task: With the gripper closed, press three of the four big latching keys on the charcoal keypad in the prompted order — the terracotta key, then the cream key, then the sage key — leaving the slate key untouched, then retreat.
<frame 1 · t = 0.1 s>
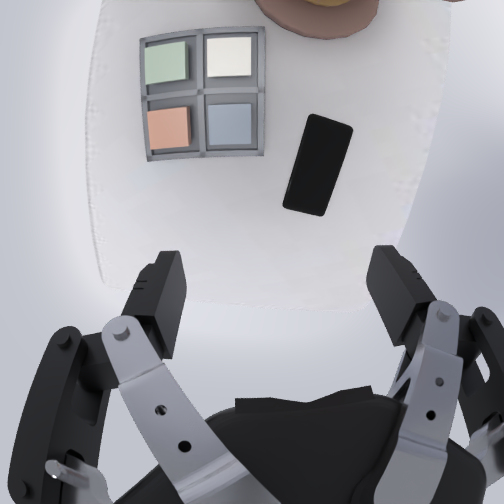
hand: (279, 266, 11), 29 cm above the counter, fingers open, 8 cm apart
keypad: (203, 91, 31), on the counter
slate key: (230, 123, 30), point 4 cm above the counter, slide at 0.0 cm
cream key: (229, 57, 26), point 4 cm above the counter, slide at 0.0 cm
sage key: (166, 63, 25), point 4 cm above the counter, slide at 0.0 cm
smartphone: (316, 166, 38), on the counter
terracotta key: (169, 127, 30), point 4 cm above the counter, slide at 0.0 cm
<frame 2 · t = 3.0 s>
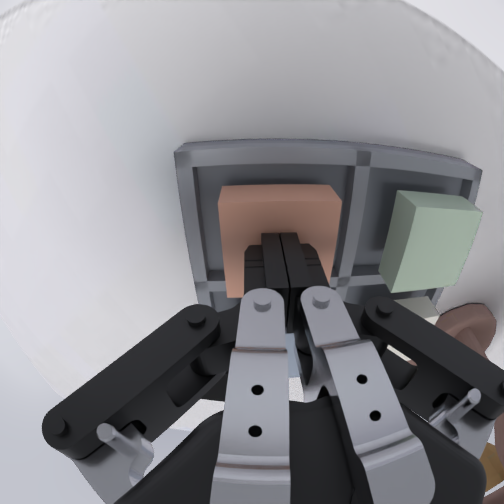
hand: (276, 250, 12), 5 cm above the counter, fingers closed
keypad: (334, 261, 18), on the counter
slate key: (274, 346, 17), point 4 cm above the counter, slide at 0.0 cm
hourglass: (436, 352, 26), on the counter
cream key: (393, 334, 17), point 4 cm above the counter, slide at 0.0 cm
sage key: (431, 242, 12), point 4 cm above the counter, slide at 0.0 cm
smartphone: (205, 379, 27), on the counter
terracotta key: (277, 242, 13), point 4 cm above the counter, slide at 0.3 cm, touching gripper
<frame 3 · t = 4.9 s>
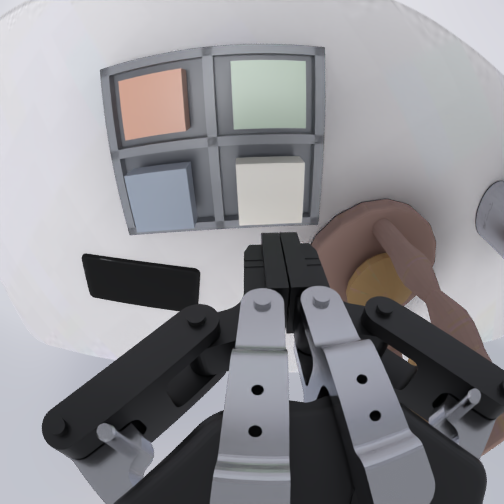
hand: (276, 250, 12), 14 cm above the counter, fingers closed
keypad: (214, 137, 22), on the counter
slate key: (162, 197, 21), point 4 cm above the counter, slide at 0.0 cm
hourglass: (369, 263, 31), on the counter
cream key: (269, 190, 21), point 4 cm above the counter, slide at 0.0 cm
sage key: (268, 93, 17), point 4 cm above the counter, slide at 0.0 cm
smartphone: (140, 280, 31), on the counter
terracotta key: (154, 103, 18), point 2 cm above the counter, slide at 1.4 cm
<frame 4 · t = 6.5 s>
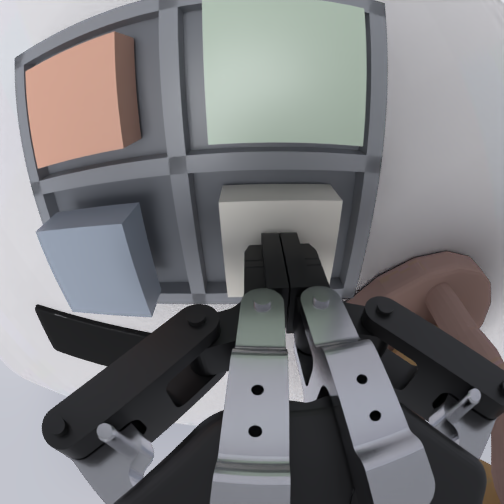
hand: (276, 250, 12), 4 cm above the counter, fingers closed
keypad: (188, 153, 13), on the counter
slate key: (99, 263, 12), point 4 cm above the counter, slide at 0.0 cm
hourglass: (407, 328, 21), on the counter
cream key: (278, 241, 13), point 2 cm above the counter, slide at 1.4 cm, touching gripper
sage key: (284, 68, 7), point 4 cm above the counter, slide at 0.0 cm
smartphone: (106, 340, 22), on the counter
terracotta key: (79, 101, 9), point 2 cm above the counter, slide at 1.4 cm
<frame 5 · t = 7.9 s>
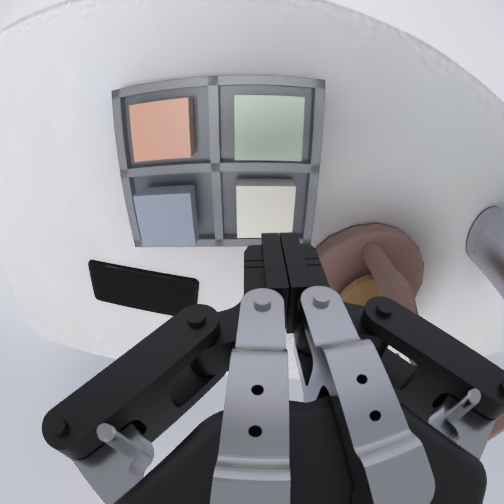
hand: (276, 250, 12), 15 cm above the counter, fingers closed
keypad: (217, 161, 24), on the counter
slate key: (167, 216, 23), point 4 cm above the counter, slide at 0.0 cm
hourglass: (359, 282, 33), on the counter
cream key: (264, 208, 24), point 2 cm above the counter, slide at 1.5 cm
sage key: (268, 126, 19), point 4 cm above the counter, slide at 0.0 cm
smartphone: (142, 287, 33), on the counter
terracotta key: (162, 128, 20), point 2 cm above the counter, slide at 1.4 cm
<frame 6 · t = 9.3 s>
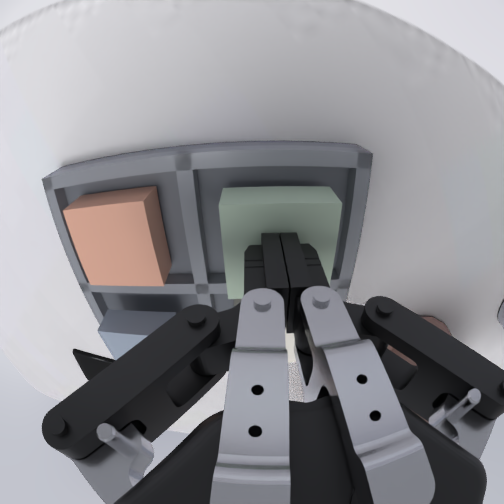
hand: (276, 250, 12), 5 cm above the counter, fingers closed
keypad: (206, 267, 18), on the counter
slate key: (146, 346, 17), point 4 cm above the counter, slide at 0.0 cm
hourglass: (380, 366, 26), on the counter
cream key: (273, 331, 18), point 2 cm above the counter, slide at 1.5 cm
sage key: (278, 243, 13), point 3 cm above the counter, slide at 0.4 cm, touching gripper
smartphone: (135, 374, 27), on the counter
terracotta key: (118, 239, 14), point 2 cm above the counter, slide at 1.4 cm
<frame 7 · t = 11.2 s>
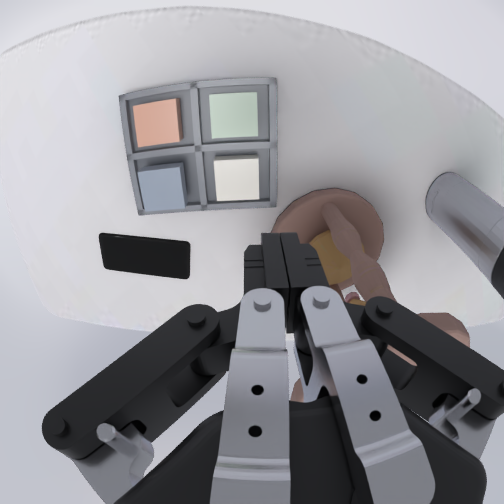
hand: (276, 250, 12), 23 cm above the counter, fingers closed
keypad: (200, 144, 31), on the counter
slate key: (163, 187, 30), point 4 cm above the counter, slide at 0.0 cm
hourglass: (326, 241, 40), on the counter
cream key: (237, 177, 31), point 2 cm above the counter, slide at 1.5 cm
sage key: (234, 114, 27), point 2 cm above the counter, slide at 1.4 cm
smartphone: (144, 253, 40), on the counter
terracotta key: (158, 122, 27), point 2 cm above the counter, slide at 1.4 cm
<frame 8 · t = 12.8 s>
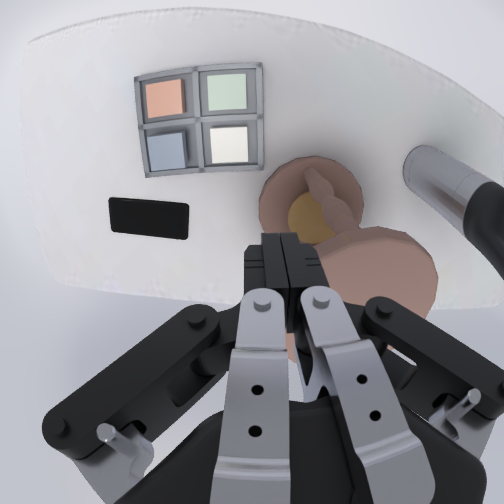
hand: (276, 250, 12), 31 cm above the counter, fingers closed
keypad: (200, 118, 36), on the counter
slate key: (167, 150, 35), point 4 cm above the counter, slide at 0.0 cm
hourglass: (310, 206, 45), on the counter
cream key: (229, 143, 36), point 2 cm above the counter, slide at 1.5 cm
sage key: (227, 91, 32), point 2 cm above the counter, slide at 1.4 cm
smartphone: (148, 216, 45), on the counter
terracotta key: (165, 98, 32), point 2 cm above the counter, slide at 1.4 cm
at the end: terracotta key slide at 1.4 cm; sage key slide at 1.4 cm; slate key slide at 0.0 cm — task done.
